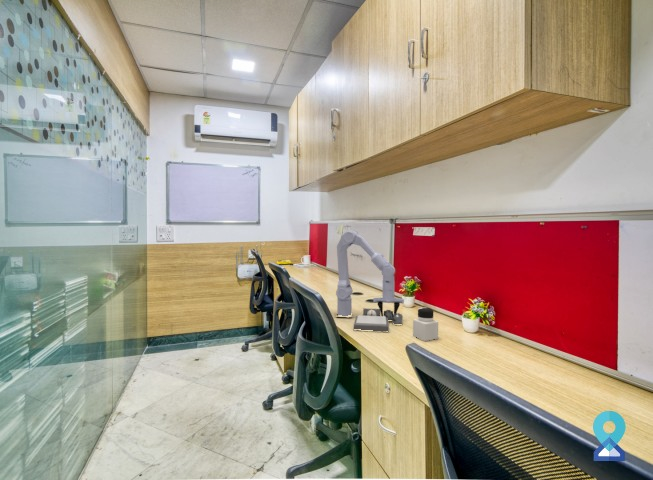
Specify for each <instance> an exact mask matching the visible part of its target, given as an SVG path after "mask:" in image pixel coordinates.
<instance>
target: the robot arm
mask: <svg viewBox="0 0 653 480" xmlns="http://www.w3.org/2000/svg"><path fill="white" fill-rule="evenodd" d="M336 245H337V246H336V255H337V270H338V271H337V272H338V283H337V289H336V292H335V295H336V297H337V314H338V315H342V316H348V315H351V313H352V310H353V309H352V308H353V307H352V303H353V302H352V294H353V291H354V290H353V288H352V287H353V286H352V285H351V281H350V277H349V276H350V275H349V259H348V249H349V248H350V247H351V246H352V245H356V246H358V247H359V246H360V247H361V249H363V251H364V252H366V253H367V254H368V255H369V256H370V260H371V263H373V265H374V266H375V267H376V268H377V269H378V270H379V271H381V275H382V297H373V303H374V304H375V303H377V307H378V309H380V316H384V311H383V310H384V307H383V306H384V305H383V304H384V303H387V304H390V303H391V304H393V314H395V313H398V310H399V307H400V305H401V304H403V305H404V303H405V299H404V298H397V297H395V274H396V268H395V267H394V265H393V264H391V262H390V261H388V260H387V259H386V258H385V255H384V254H383V253H380V252H376V251H375V249H374V248H373V247H372V246H371V245H370V244H369V242H367V240H366V239H365V238H364V237H363V236H362V235H361V234H359V233H358V231H356V230H346V231H344V232H343V233H342V234H341V236H340V239H339V240H338V243H337V244H336ZM337 314H336V315H337Z"/></svg>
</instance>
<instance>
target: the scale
mask: <svg viewBox="0 0 653 480" xmlns="http://www.w3.org/2000/svg"><path fill="white" fill-rule="evenodd" d="M362 313H363V314H361V315H360V314H359V315H356V316H355V319H354V322H353V330H354V329H361V330H373V331H388V332H389V333H390V327H389V322H388V318H386V316H384V315H383V316H381V312H380V309H379V308H367V307H366V308H365V307H364V308H363V311H362ZM388 332H387V333H388Z"/></svg>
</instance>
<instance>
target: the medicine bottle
mask: <svg viewBox="0 0 653 480" xmlns="http://www.w3.org/2000/svg"><path fill="white" fill-rule="evenodd" d="M412 337H414V338H416V337H417V338H416V339H418V338H419V340H420V339H421V340H420V341H424V342H429V340H430V341H434V340H433V339H435V340H439V321H438V320H435V319H434V309H432V308H430V307H420V308H419V307H418V309H417V318H414V319H412Z"/></svg>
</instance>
